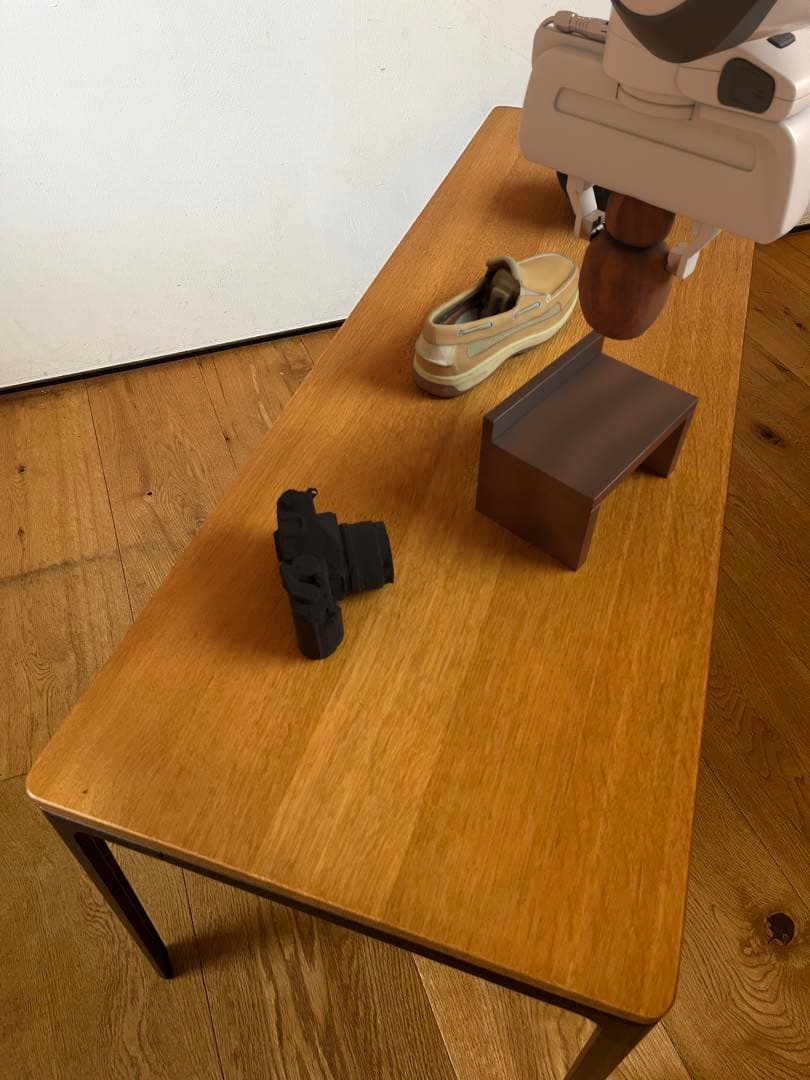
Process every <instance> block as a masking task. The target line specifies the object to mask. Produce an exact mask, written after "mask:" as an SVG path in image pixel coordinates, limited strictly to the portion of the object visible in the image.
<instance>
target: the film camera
mask: <svg viewBox="0 0 810 1080" xmlns="http://www.w3.org/2000/svg"><path fill="white" fill-rule="evenodd" d="M315 492H316V493H315ZM318 494H319V492H318V489H317V488H316V487H307V489H306V491H304V490H297V489H295V488H288V489H287V490H285V491H283V492H282V493H281V494H280V496H278V498H277V500H276V509H275V511H276V513H275V514H276V525H277V528H276V530H274V531H273V534H272V535H273V542H274V550H275V554H276V558H277V561H278V562H279V563H280V564H279V567H278V570H279V576H280V581H281V585H282V588H283V589H284V590H285V591H286V593H287V597H288V604H289V607H290V612H291V617H292V623H293V627H294V630H295V636H296V642H297V648H298V650H299V651H300V653H301V654H302V655H303V657H306V658H308V659H310V660H314V661H316V660H317V661H318V660H324V659H327V658H329V657H330V656H331V655H333V654H334V653H336V651H337V649H338V647H339V646H340V645H341V644H342V642H343V640H344V638H345V627H344V622H343V620H344V619H343V611H342V607H341V606H340V605H339V604H337V602H338V601H342V600H345V597H346V596H347V595H348V594H349V595H350V594H351V595H357V594H361V593H362V592H364V591H367V592H369V591H373V590H381V589H383V588H384V585H389V584H394V583H395V567H394V561H393V552H392V548H391V542H390V538H389V534H388V530H387V526H386V524H385V521H384V520H379V521H372V520H371V519H369V520H362V521H361V520H360V521H358V522H357V521H356V522H353V523H348V522H347V521H346V522H342V523H339V521H338V517H337V513H336V512H332V511H330V510H329V511H328V510H327V511H325V512H318V513H317V511H316V506H315V501H314V499H315V498H316V497H317V496H318Z"/></svg>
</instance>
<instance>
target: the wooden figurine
mask: <svg viewBox="0 0 810 1080" xmlns="http://www.w3.org/2000/svg"><path fill="white" fill-rule="evenodd" d="M676 216H677V214H676V213H673V212H671V211H668V210H665V209H662V208H659V207H657V206H654V205H651V204H648V203H646V202H644V201H642V200H639V199H637V198H634V197H632V196H629V195H625V194H620V193H617V192H615V191H612V192H611V194H610V196H609V198H608V202H607V206H606V212H605V219H604V220H605V226H606V228H603V230H602V231H601V232H600V233H599V234H598V235H597V236H596V237H594V238H593V239H592V241H591V242H589V244H588V246H587V247H586V249H585V252H584V255H583V259H582V262H581V267H580V270H579V272H580V275H579V281H578V293H579V294H578V300H579V307H580V310H581V313H582V316H583V318H584V320H585V322H586V323H587V324H588V326H589V327H590V328H591V329H592V330H595V332H597V333H599V334H600V335H602V336H604V337H605V338H606V339H610V340H615V341H620V342H621V341H631V340H633V339H636V338H639V337H641V336H643V335H644V334H645V332H646V331H647V330H648V329H650V327H651V326H652V325H653V324H655V322H656V321H657V320H658V318H659V317H660V315H661V313H662V312H663V310H664V308H665V306H666V303H667V301H668V299H669V296H670V293H671V290H672V288H673V287H672V286H673V282H674V277H675V276H674V275H671V274H669V273H667V272H665V266H666V265H667V264H668V261H667V258H668V254H669V251H670V250H671V249H672V248H671V247H670V244H668V243H667V241H666V240H665V239H667V237H668V236H669V235H670V233H671V231H672V229H673V227H674V224H675V221H676Z"/></svg>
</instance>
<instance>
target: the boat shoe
mask: <svg viewBox="0 0 810 1080" xmlns="http://www.w3.org/2000/svg"><path fill="white" fill-rule="evenodd" d="M485 262H486V263H485V265H486V267H487V269H486V270H485V273H484V274H483V276H481V277H480V278H479V280H477V282H476V283H475V284H474V285H472V286H470V287H468V288H466V289H464V290H463V291H461V292H460V293H458V294H456V295H455V296H453V297H451V298H450V299H448V301H445V302H442V303H441V304H439V305H438V306H436V307H434V308H433V309H432V310H430V312H429V314H428V315H427V317H426V319H425V321H424V325H423V328H422V330H421V333H420V335H419V337H418V339H416V342H415V345H414V348H415V353H414V357H413V363H412V364H413V368H412V377H413V380H414V382H415V383H416V385H417V386H418V387H420V388H421V389H422V390H424V391H426V392H428V393H430V394H432V395H435V396H438V397H441V398H454V397H458V396H462V395H463V394H466V393H468V392H470V391H472V390H473V389H475V388H476V387H477V386H479V385H480V384H482V383H484V382H485V381H487V380H488V379H489V378H490V377H492V376H493V375H494V374H495V373H496V372H497V371H498V370H499V369H501V366H502V365H503V364H504V363H505V362H506V361H508V360H509V359H511V358H512V357H513V356H516V355H522V354H525V353H527V352H529V351H531V350H533V349H535V348H537V347H539V346H541V345H542V344H544V343H546V342H548V341H549V340H551V339H552V338H553V337H554V336H555V335H556V334H557V333H559V331H560V330H561V329H562V328H563V326H564V325H565V324H566V322H567V321H568V319H569V318H570V316H571V314H572V313H573V310H574V308H575V306H576V304H577V301H578V298H579V293H578V281H579V275H580V270H579V268H578V266H577V263H576V262H575V261H574V260H573V259H572V257H569V256H568V255H566V254H563V253H561V252H556V251H546V252H539V253H536V254H534V255H531V256H529V257H525V258H523V259H519V260H517V261H516V260H515V259H514V258H513V257H511V255H510V256H509V255H506V254H498V255H496V256H492V257H490V258H488V259H487V260H486V261H485Z"/></svg>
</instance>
